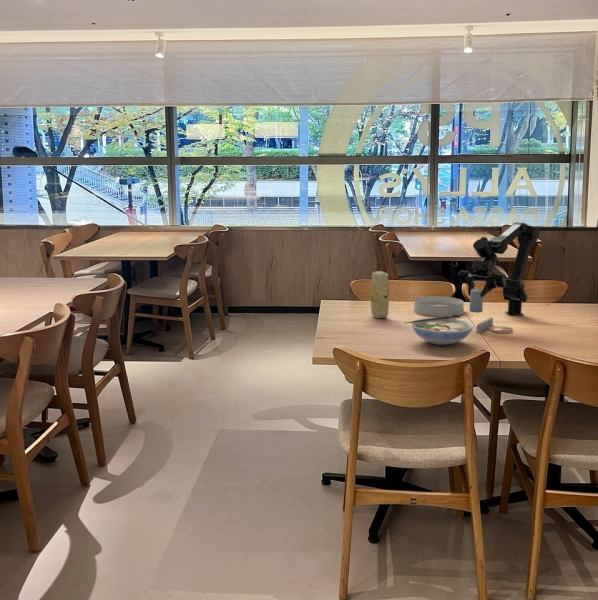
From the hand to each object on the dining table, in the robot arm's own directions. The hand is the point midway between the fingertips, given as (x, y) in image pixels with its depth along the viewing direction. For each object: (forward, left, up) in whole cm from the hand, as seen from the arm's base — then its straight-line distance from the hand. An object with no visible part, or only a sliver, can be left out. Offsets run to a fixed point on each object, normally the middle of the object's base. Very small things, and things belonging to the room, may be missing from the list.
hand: (475, 295), depth 271 cm
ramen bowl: (+24, -17, -14) cm, 32 cm away
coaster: (+5, +10, -13) cm, 17 cm away
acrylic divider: (+1, +4, -13) cm, 14 cm away
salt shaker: (-1, +1, -7) cm, 7 cm away
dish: (-32, -8, -14) cm, 36 cm away
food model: (-20, -36, -13) cm, 44 cm away
